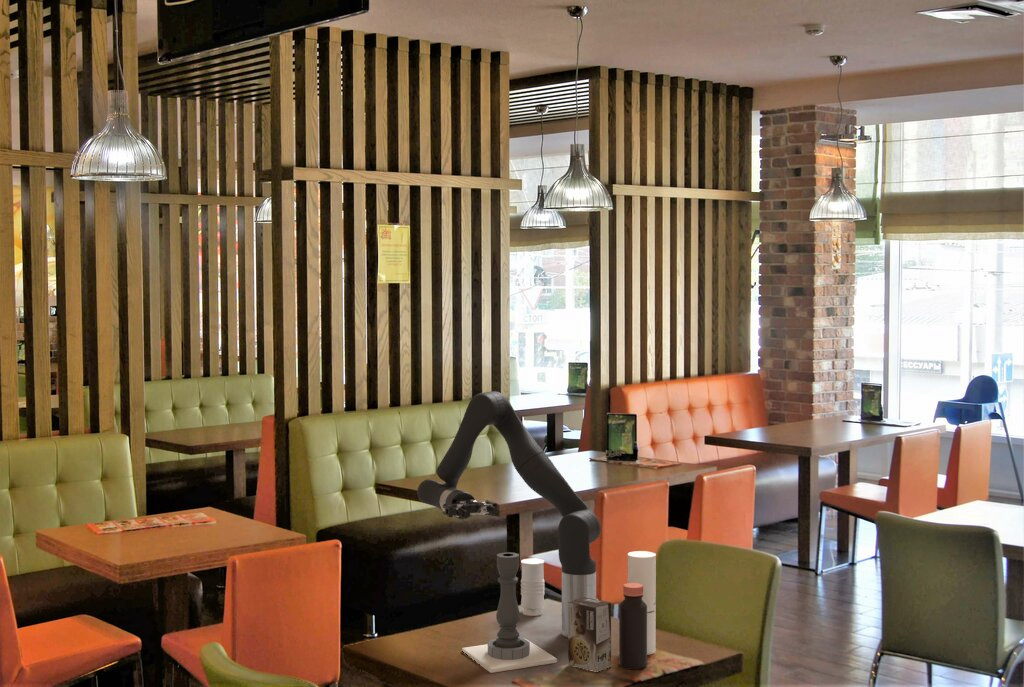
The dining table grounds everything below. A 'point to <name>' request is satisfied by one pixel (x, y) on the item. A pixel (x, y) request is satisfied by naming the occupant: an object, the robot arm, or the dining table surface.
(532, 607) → the candle
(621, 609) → the bottle
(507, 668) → the collar plate
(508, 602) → the candle holder
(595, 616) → the coffee box
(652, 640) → the cylindrical container
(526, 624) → the dining table surface
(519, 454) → the robot arm
